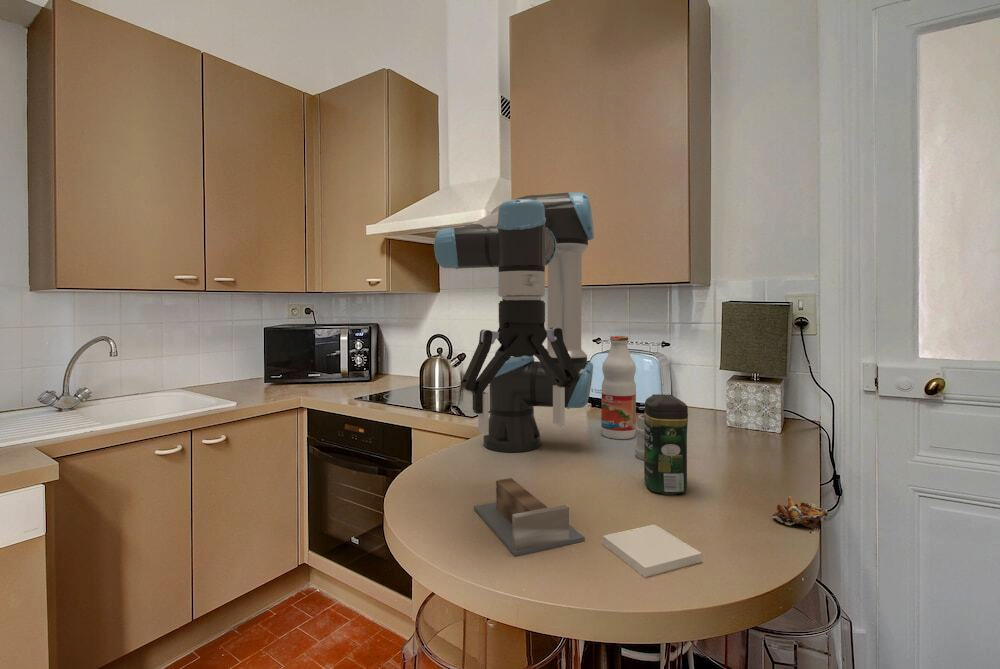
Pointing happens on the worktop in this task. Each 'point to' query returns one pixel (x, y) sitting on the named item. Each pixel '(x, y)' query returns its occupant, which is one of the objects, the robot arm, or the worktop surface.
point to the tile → (651, 550)
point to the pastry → (800, 514)
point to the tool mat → (504, 533)
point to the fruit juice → (618, 392)
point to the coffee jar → (665, 444)
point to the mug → (640, 437)
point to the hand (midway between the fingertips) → (522, 428)
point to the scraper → (530, 516)
